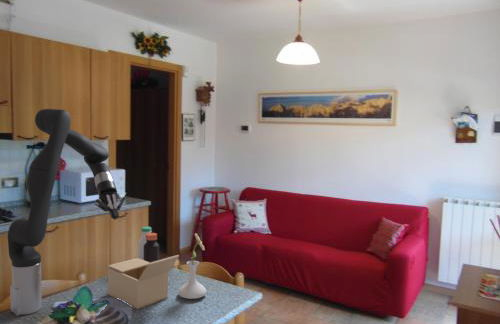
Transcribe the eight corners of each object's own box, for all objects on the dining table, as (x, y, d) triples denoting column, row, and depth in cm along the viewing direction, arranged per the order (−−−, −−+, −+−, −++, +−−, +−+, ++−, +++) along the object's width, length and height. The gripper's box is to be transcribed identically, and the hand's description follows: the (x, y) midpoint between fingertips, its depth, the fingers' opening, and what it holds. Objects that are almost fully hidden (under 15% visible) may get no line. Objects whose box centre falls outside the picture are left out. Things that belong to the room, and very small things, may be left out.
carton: (137, 309, 149) (137, 280, 148) (108, 294, 161) (108, 267, 161) (167, 298, 159) (167, 271, 159) (137, 285, 172) (138, 259, 171)
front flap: (138, 279, 148) (139, 281, 148) (148, 263, 143) (149, 264, 143) (167, 270, 158) (168, 271, 158) (178, 254, 154) (179, 255, 153)
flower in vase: (201, 303, 156) (202, 239, 154) (173, 300, 158) (174, 237, 156) (211, 290, 168) (212, 231, 166) (185, 287, 171) (186, 229, 169)
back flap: (122, 272, 155) (122, 271, 154) (108, 266, 161) (108, 265, 161) (151, 264, 165) (151, 263, 165) (137, 259, 171) (137, 257, 171)
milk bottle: (144, 272, 188) (145, 230, 186) (134, 268, 192) (134, 227, 191) (157, 268, 194) (158, 227, 192) (147, 264, 199) (147, 224, 197)
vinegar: (160, 275, 184) (161, 232, 183) (155, 281, 177) (156, 236, 176) (146, 274, 185) (146, 232, 183) (141, 280, 178) (141, 235, 176)
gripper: (91, 180, 166) (101, 214, 158) (122, 178, 175) (134, 211, 166) (87, 191, 171) (97, 225, 162) (118, 189, 179) (128, 221, 171)
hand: (115, 218), depth 164 cm, fingers closed
